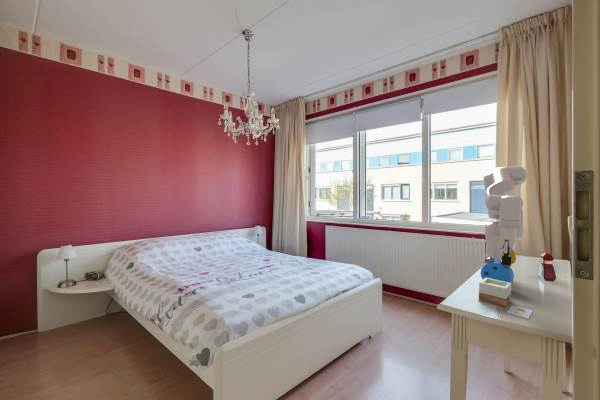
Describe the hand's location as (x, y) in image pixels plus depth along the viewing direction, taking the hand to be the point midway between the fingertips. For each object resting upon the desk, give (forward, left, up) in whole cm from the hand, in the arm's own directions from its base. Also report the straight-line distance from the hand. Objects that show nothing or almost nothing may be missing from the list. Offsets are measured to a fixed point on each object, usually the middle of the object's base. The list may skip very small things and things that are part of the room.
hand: (507, 263), depth 125 cm
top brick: (+3, -4, -14) cm, 14 cm away
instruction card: (+8, +6, -18) cm, 20 cm away
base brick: (+3, -4, -18) cm, 18 cm away
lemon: (0, 0, -1) cm, 1 cm away
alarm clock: (-18, -8, -18) cm, 26 cm away
